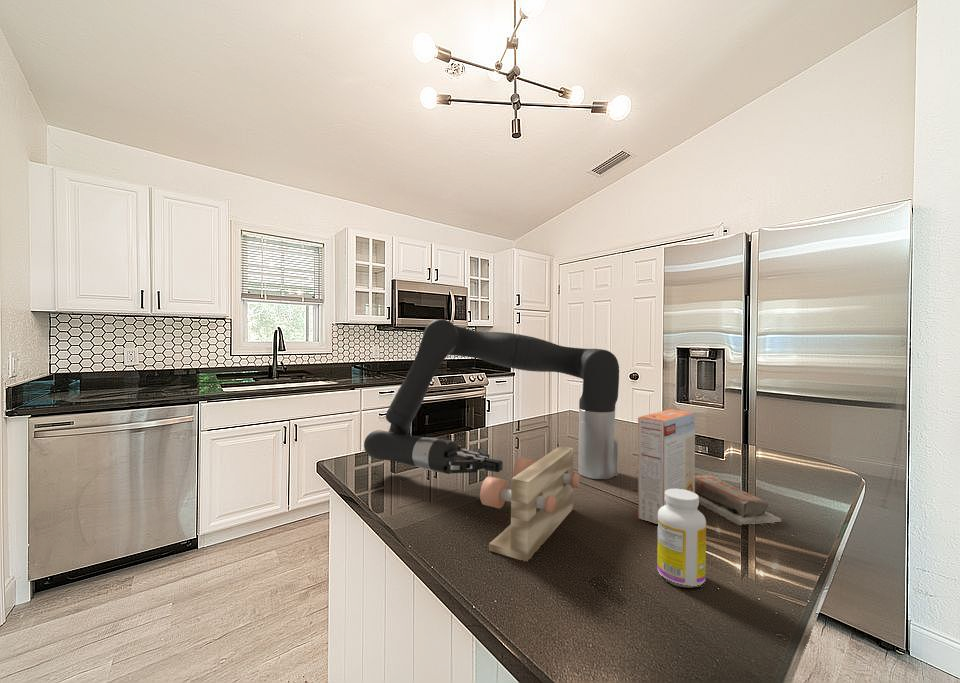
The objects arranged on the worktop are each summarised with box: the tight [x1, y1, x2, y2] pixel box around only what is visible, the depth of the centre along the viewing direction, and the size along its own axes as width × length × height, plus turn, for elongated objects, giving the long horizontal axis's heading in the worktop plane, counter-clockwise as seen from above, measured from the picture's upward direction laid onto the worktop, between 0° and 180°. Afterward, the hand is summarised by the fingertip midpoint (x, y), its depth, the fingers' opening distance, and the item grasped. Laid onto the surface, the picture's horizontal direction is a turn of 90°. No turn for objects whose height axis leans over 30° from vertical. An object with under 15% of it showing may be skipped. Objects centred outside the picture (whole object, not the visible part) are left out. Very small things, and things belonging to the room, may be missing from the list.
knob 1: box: [479, 476, 556, 514], centre depth 73 cm, size 13×5×5 cm, turn 60°
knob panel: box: [488, 445, 574, 563], centre depth 79 cm, size 7×24×13 cm, turn 150°
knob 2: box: [513, 457, 581, 489], centre depth 86 cm, size 13×5×5 cm, turn 60°
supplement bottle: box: [656, 489, 707, 586], centre depth 63 cm, size 7×7×13 cm
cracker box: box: [637, 408, 696, 524], centre depth 86 cm, size 14×6×21 cm, turn 131°
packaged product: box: [695, 474, 782, 524], centre depth 91 cm, size 18×5×10 cm
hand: (501, 466), depth 91 cm, fingers closed
